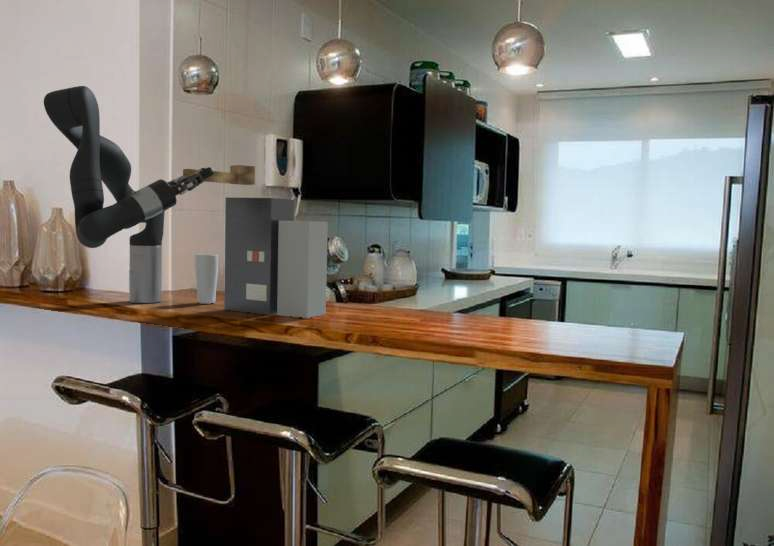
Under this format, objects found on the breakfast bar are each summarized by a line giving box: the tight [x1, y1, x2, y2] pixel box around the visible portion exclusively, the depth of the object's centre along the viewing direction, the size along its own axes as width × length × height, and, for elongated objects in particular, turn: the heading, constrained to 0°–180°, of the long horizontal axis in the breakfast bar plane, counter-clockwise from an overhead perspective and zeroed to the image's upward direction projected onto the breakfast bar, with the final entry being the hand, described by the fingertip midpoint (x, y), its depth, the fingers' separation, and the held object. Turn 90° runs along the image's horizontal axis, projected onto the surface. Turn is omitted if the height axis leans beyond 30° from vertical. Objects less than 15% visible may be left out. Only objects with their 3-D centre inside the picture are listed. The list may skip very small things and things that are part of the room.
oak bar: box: [182, 164, 256, 186], centre depth 175 cm, size 19×5×5 cm, turn 130°
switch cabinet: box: [223, 197, 295, 316], centre depth 184 cm, size 16×11×32 cm
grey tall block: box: [276, 220, 329, 319], centre depth 179 cm, size 10×9×26 cm
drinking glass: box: [194, 253, 219, 305], centre depth 198 cm, size 7×7×15 cm
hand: (208, 170), depth 173 cm, fingers closed on oak bar, 3 cm apart
